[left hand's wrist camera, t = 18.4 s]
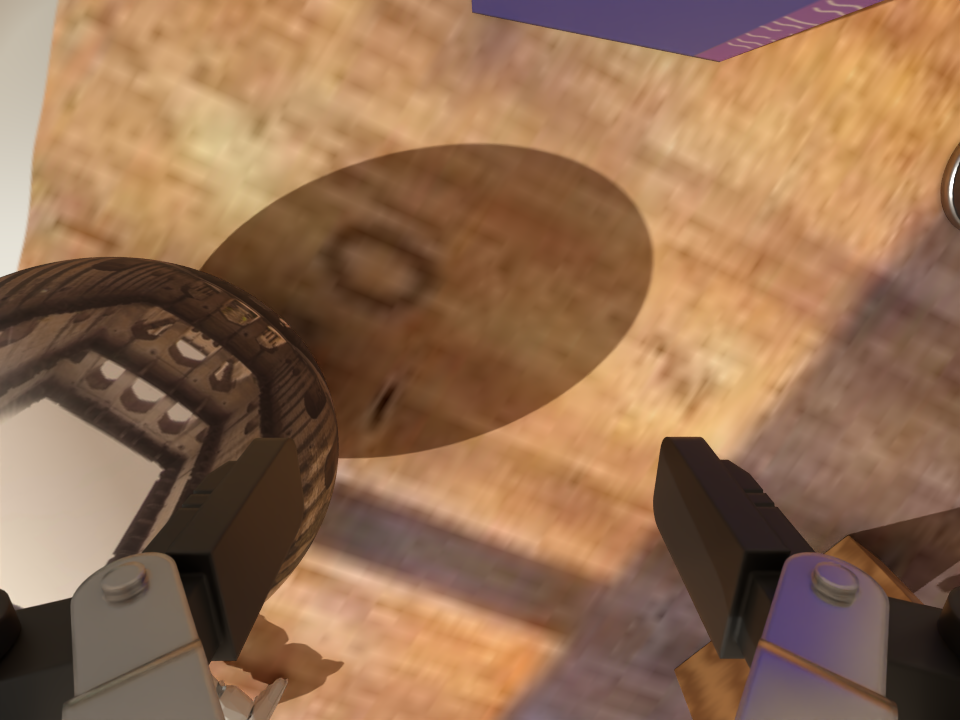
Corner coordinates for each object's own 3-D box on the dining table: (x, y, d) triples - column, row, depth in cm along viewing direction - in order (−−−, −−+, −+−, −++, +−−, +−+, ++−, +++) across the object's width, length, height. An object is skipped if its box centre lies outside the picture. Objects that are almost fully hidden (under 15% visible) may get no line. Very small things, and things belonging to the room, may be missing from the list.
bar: (848, 534, 52) (914, 603, 44) (881, 561, 53) (952, 632, 45) (673, 669, 59) (704, 750, 51) (706, 690, 60) (741, 772, 52)
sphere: (24, 388, 46) (-443, 631, 23) (168, 159, 39) (-291, 169, 16) (267, 541, 52) (95, 856, 29) (428, 366, 45) (374, 594, 22)
